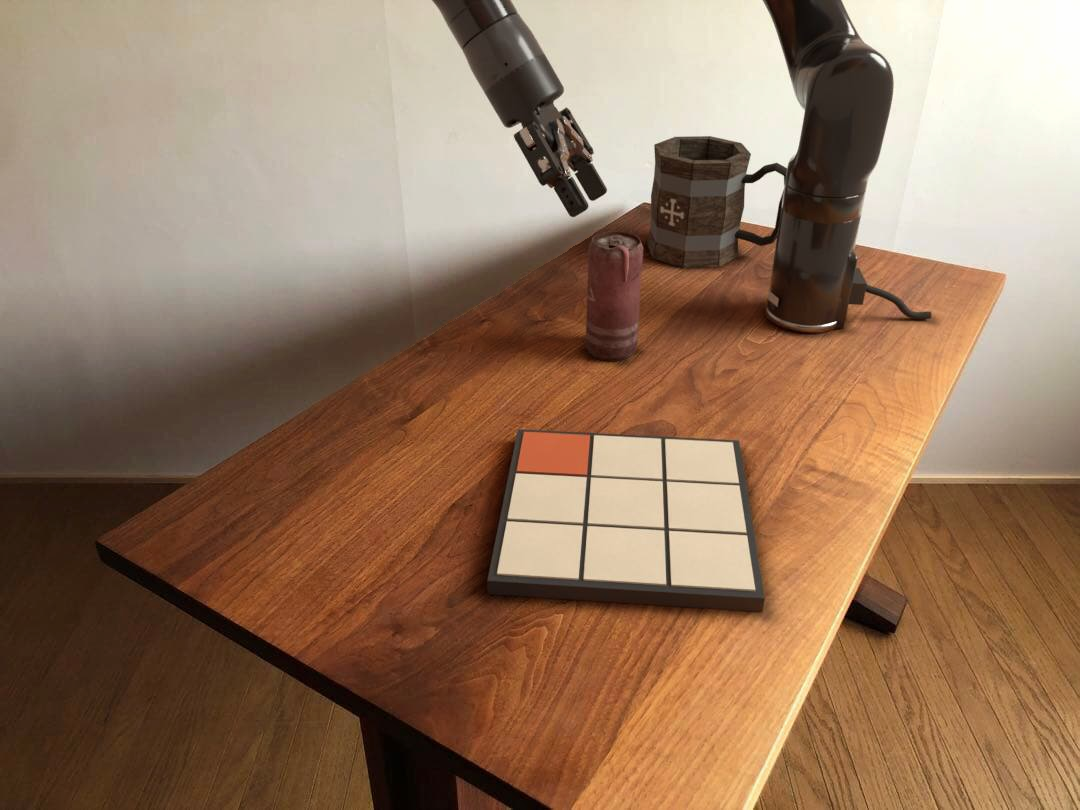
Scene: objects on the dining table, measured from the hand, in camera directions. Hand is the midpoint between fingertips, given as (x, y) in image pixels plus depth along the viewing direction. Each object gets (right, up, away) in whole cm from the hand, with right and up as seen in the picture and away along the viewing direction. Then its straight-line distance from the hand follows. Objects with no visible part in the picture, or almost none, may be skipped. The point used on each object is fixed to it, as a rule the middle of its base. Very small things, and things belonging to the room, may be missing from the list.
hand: (590, 204), depth 100 cm
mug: (+20, 0, +34) cm, 39 cm away
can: (+3, -16, +9) cm, 18 cm away
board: (+2, -32, -18) cm, 37 cm away
